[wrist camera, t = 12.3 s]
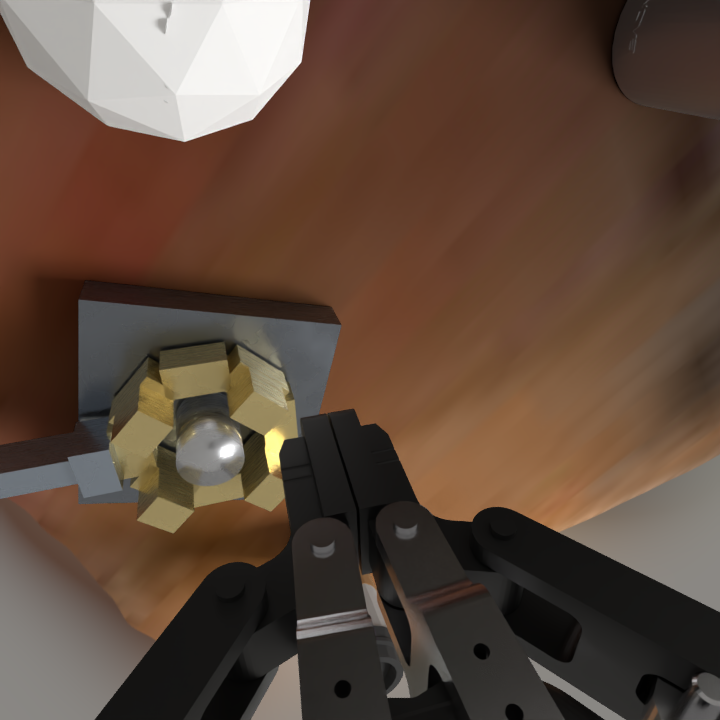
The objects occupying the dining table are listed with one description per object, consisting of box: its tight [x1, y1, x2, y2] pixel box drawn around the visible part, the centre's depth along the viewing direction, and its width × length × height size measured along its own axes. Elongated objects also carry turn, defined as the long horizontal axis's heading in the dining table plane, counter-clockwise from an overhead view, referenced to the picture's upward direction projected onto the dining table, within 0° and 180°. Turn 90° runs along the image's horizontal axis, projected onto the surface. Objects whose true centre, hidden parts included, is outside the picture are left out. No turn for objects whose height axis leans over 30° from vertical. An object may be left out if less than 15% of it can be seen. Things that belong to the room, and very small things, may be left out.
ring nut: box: [0, 342, 298, 533], centre depth 36 cm, size 21×12×5 cm, turn 90°
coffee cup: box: [359, 566, 403, 694], centre depth 48 cm, size 8×8×15 cm
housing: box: [79, 280, 341, 504], centre depth 39 cm, size 17×17×8 cm
